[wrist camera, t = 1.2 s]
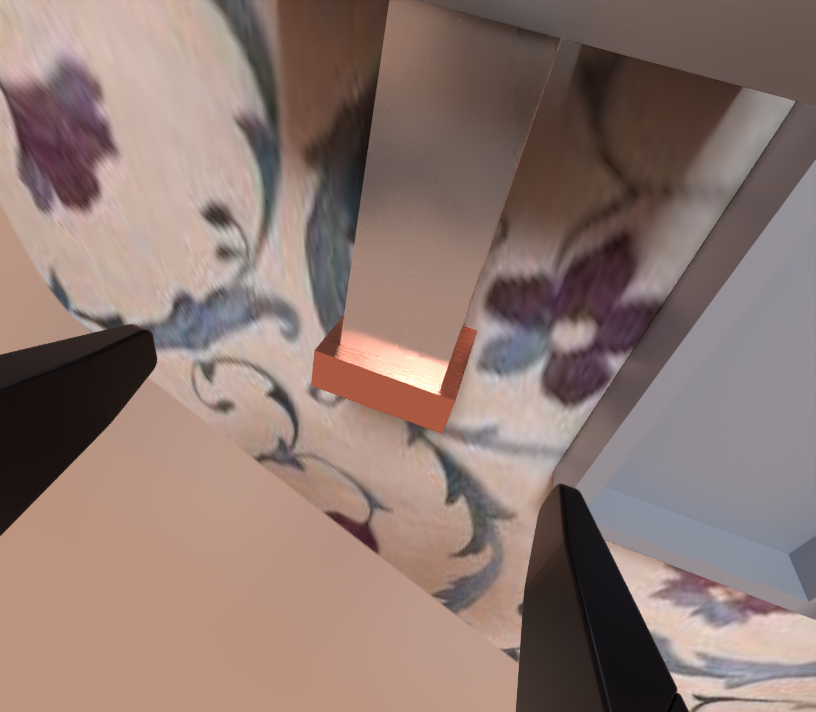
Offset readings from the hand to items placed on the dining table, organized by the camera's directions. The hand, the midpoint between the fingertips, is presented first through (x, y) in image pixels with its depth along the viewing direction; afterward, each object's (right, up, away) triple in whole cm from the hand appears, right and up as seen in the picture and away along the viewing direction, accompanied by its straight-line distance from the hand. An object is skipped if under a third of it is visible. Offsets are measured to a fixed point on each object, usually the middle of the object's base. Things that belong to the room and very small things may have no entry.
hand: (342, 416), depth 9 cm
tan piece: (+3, +8, +4) cm, 9 cm away
